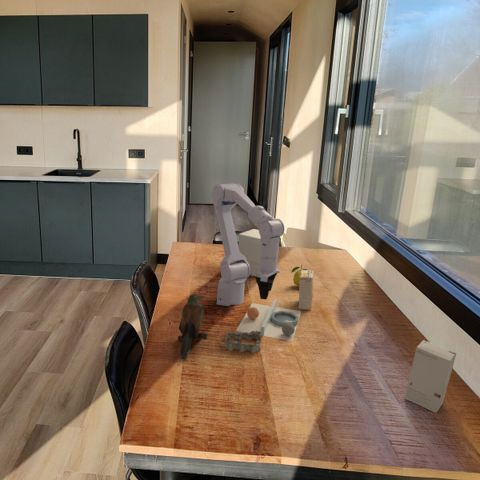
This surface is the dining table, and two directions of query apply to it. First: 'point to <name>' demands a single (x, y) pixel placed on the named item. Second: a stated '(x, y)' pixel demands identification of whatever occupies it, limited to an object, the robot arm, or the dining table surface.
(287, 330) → the grey ball
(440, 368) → the skincare box
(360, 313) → the dining table surface
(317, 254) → the dining table surface
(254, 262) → the supplement box
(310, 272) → the supplement box
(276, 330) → the board
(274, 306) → the fence
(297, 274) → the lemon
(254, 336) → the egg carton
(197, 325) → the bird figurine
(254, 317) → the rust ball
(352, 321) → the dining table surface
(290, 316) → the dish
